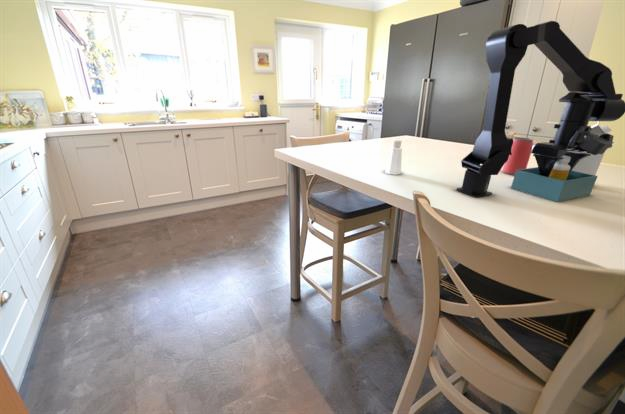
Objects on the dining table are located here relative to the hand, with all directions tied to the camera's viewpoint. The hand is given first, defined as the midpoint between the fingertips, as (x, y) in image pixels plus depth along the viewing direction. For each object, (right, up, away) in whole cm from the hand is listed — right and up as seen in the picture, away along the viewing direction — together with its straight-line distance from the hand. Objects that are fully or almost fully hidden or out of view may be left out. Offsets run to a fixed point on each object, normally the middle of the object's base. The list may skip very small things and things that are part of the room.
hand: (553, 178), depth 80 cm
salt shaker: (-40, +4, +18) cm, 44 cm away
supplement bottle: (0, -3, +1) cm, 4 cm away
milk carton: (+15, -1, +10) cm, 18 cm away
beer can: (+2, +4, +20) cm, 20 cm away
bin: (0, -3, +1) cm, 4 cm away
